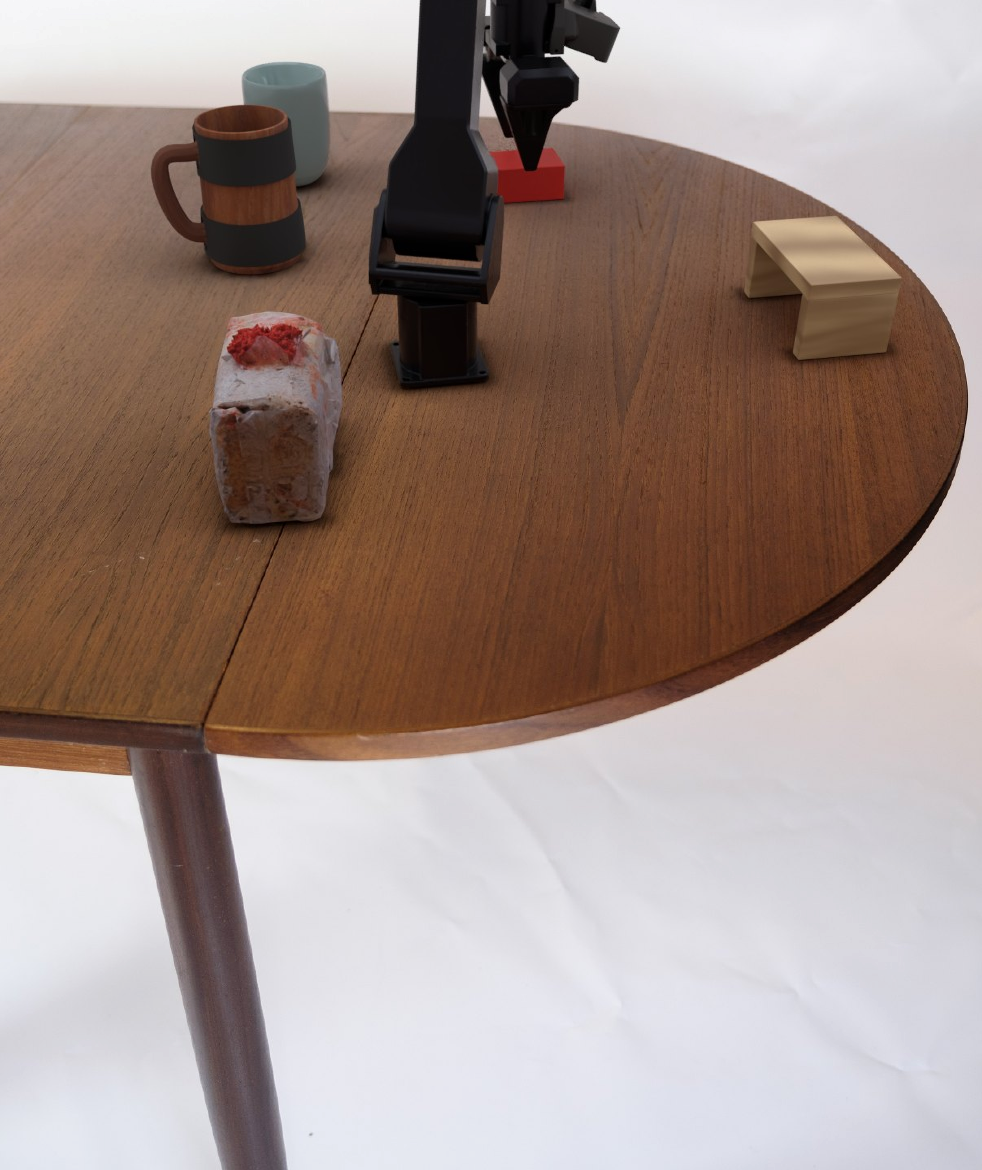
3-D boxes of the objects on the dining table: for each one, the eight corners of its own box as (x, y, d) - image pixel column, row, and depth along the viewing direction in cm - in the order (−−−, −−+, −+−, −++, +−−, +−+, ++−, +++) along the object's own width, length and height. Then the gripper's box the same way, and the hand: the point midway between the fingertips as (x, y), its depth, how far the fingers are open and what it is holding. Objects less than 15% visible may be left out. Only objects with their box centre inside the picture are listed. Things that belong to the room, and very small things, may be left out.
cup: (239, 189, 122) (226, 81, 116) (273, 162, 128) (263, 58, 122) (314, 198, 120) (305, 89, 114) (345, 171, 126) (338, 65, 120)
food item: (229, 417, 88) (211, 283, 82) (345, 411, 89) (335, 279, 83) (216, 530, 78) (193, 386, 72) (348, 523, 78) (336, 380, 72)
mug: (159, 249, 111) (136, 112, 104) (295, 231, 114) (282, 97, 107) (173, 289, 105) (150, 146, 97) (317, 269, 108) (305, 129, 101)
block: (551, 180, 125) (553, 147, 123) (563, 199, 121) (565, 165, 119) (476, 185, 123) (476, 152, 121) (485, 204, 119) (485, 170, 118)
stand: (886, 352, 96) (902, 277, 93) (798, 360, 95) (811, 285, 92) (824, 285, 106) (836, 215, 102) (743, 292, 105) (753, 221, 101)
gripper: (644, -5, 104) (630, 183, 114) (587, -54, 119) (579, 117, 128) (510, 1, 102) (507, 192, 112) (469, -49, 117) (470, 123, 126)
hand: (519, 153), depth 120 cm, fingers open, 9 cm apart
